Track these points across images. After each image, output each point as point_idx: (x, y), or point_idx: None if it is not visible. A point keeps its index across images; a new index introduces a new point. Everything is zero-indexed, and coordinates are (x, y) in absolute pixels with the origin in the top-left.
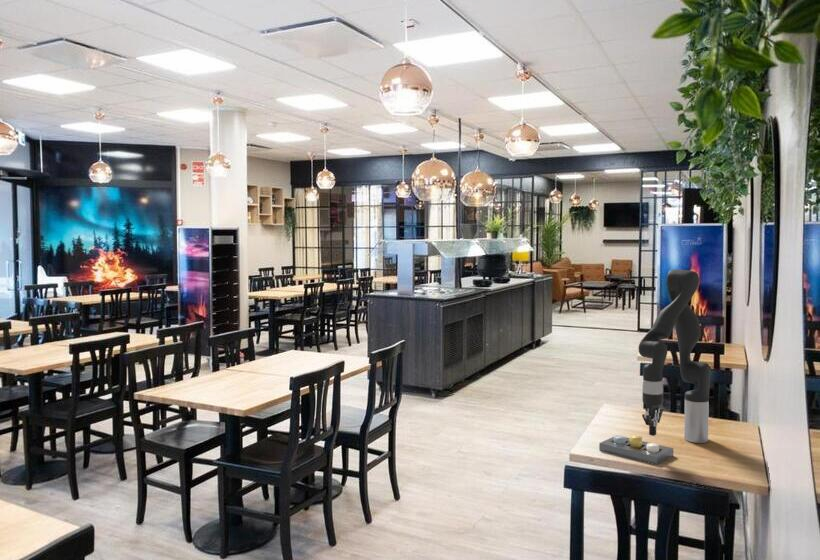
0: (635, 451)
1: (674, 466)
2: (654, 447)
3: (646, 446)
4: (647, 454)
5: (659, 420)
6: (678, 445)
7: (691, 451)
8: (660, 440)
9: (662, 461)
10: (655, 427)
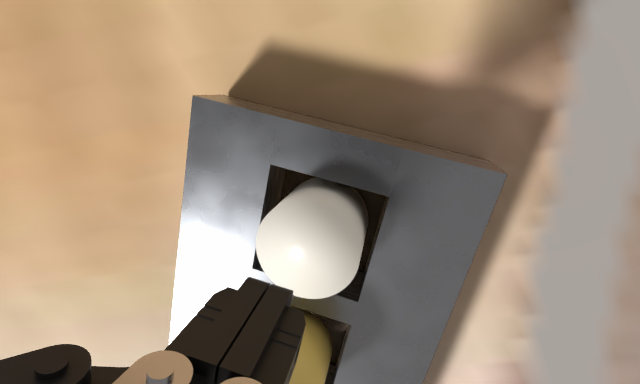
0: (429, 342)
1: (449, 32)
2: (354, 229)
3: None
4: (465, 255)
5: (11, 371)
6: (14, 112)
7: (61, 5)
8: (8, 221)
9: (392, 137)
10: (226, 350)
